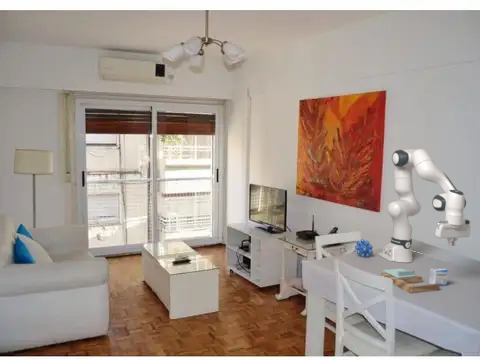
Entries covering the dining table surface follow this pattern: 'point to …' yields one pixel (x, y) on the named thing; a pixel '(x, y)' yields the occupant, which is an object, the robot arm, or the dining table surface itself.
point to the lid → (400, 273)
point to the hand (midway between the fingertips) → (451, 245)
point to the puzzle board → (407, 286)
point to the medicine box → (438, 276)
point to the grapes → (363, 248)
